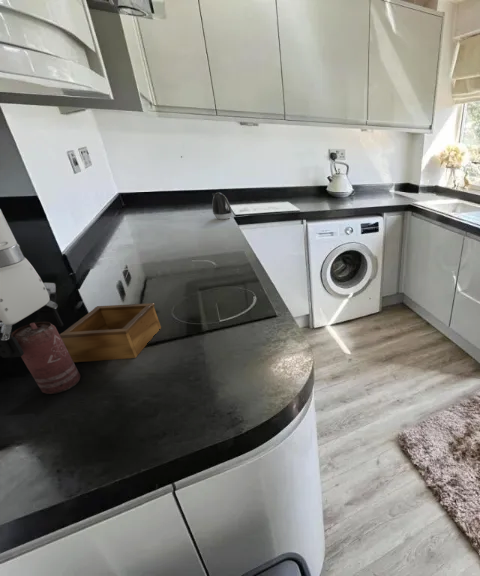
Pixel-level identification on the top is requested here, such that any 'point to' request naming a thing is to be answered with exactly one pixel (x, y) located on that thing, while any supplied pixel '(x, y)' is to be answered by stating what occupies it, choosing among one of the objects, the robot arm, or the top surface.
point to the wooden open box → (111, 332)
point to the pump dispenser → (221, 206)
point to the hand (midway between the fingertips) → (35, 340)
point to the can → (47, 357)
